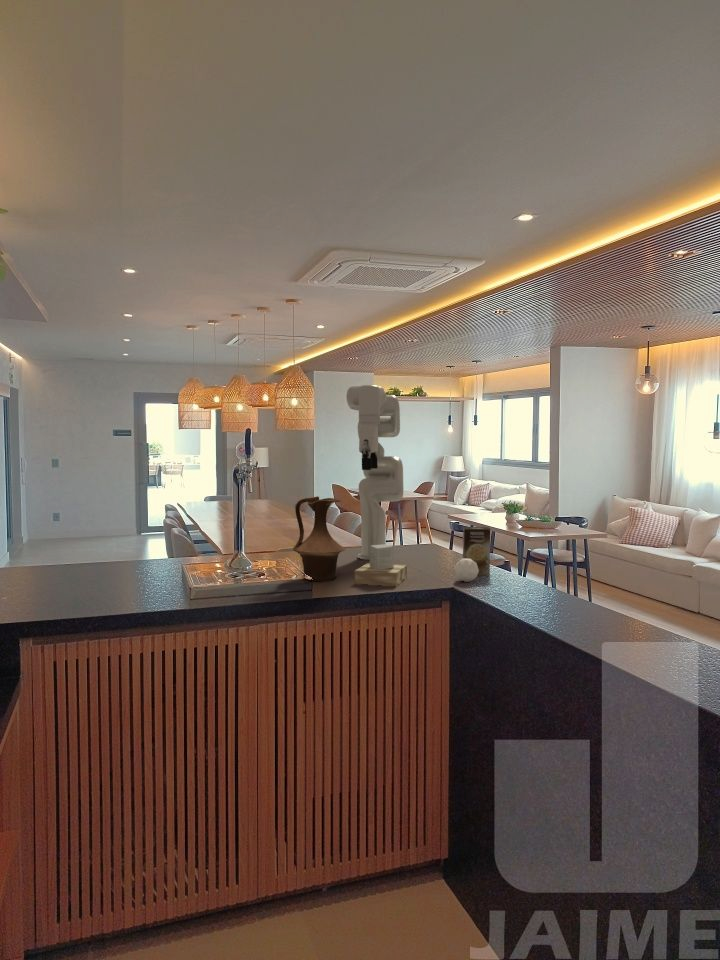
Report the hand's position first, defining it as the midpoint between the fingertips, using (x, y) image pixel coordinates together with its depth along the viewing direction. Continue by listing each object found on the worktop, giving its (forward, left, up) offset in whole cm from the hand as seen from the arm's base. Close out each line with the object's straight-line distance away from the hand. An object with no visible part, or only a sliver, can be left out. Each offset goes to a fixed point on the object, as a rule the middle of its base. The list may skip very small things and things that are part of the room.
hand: (369, 469), depth 241 cm
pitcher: (+16, -14, -36) cm, 42 cm away
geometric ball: (+10, +35, -36) cm, 52 cm away
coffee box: (-3, +37, -36) cm, 52 cm away
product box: (+15, +8, -32) cm, 36 cm away
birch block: (+15, +7, -37) cm, 41 cm away
